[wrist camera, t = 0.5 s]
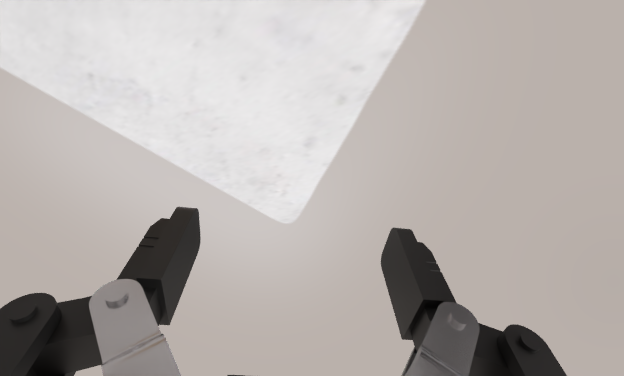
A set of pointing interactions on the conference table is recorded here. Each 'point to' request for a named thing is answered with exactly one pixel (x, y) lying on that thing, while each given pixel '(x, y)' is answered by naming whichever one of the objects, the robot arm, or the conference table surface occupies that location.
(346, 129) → the conference table surface
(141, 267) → the robot arm
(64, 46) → the conference table surface
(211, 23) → the conference table surface
